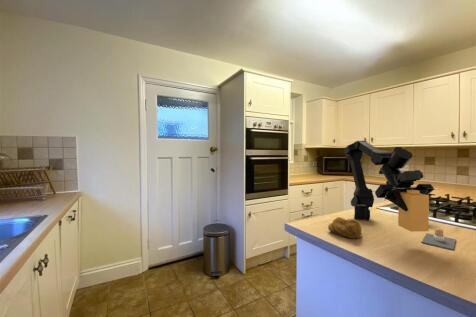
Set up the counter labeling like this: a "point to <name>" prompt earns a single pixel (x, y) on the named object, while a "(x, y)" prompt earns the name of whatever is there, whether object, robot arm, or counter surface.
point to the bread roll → (345, 228)
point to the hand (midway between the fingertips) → (416, 210)
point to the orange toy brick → (414, 211)
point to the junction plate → (440, 244)
